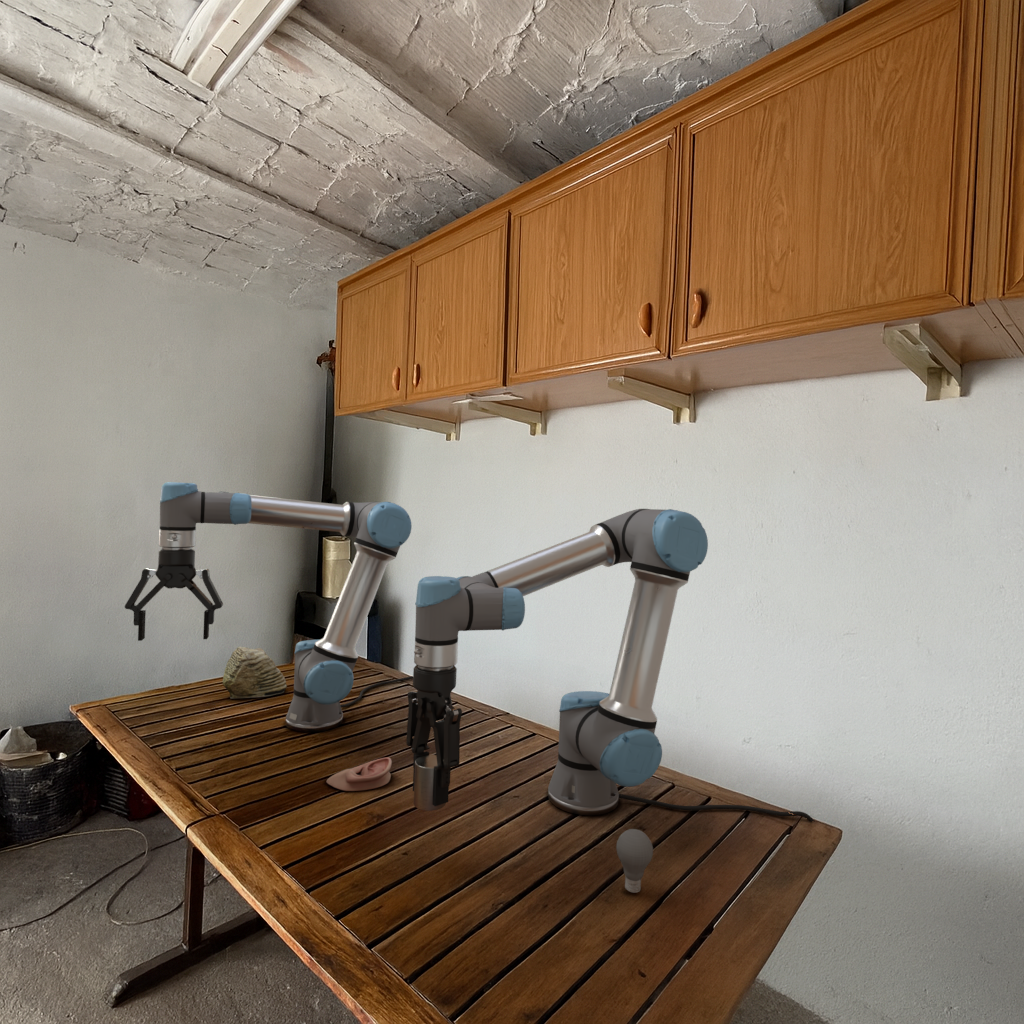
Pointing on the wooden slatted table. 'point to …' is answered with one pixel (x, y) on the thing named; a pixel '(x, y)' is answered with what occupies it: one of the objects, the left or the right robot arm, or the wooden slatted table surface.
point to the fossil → (252, 674)
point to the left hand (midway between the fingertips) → (174, 638)
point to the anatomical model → (363, 776)
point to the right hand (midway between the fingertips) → (430, 796)
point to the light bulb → (634, 857)
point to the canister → (425, 783)
